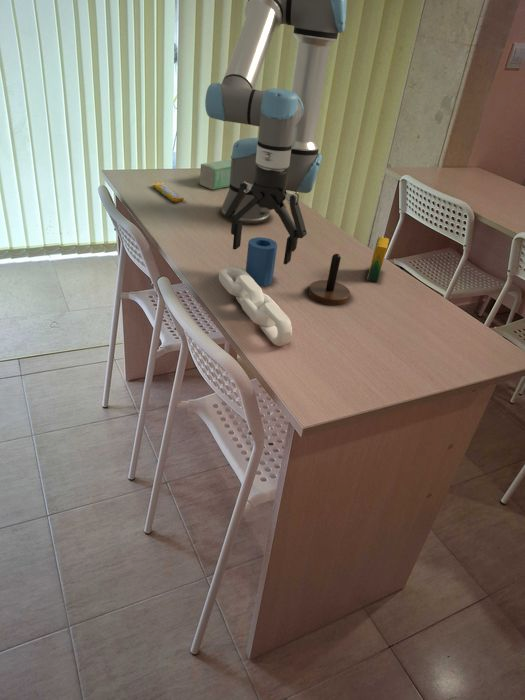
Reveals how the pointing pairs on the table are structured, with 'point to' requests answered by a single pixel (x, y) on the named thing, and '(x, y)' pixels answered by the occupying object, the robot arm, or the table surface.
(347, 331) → the table surface
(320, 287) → the stand base
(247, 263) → the towel roll
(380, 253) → the crayon box
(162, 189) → the candy bar
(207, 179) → the box
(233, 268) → the chain
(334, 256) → the stand post
